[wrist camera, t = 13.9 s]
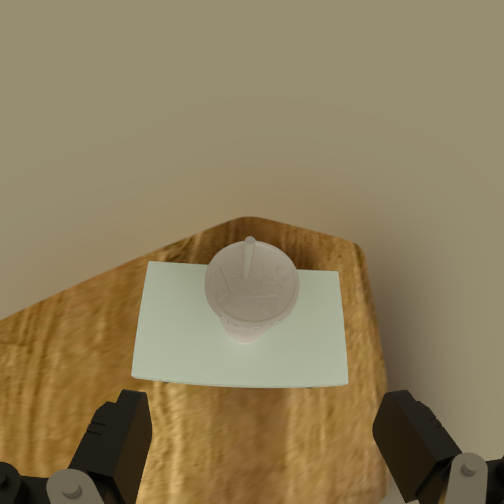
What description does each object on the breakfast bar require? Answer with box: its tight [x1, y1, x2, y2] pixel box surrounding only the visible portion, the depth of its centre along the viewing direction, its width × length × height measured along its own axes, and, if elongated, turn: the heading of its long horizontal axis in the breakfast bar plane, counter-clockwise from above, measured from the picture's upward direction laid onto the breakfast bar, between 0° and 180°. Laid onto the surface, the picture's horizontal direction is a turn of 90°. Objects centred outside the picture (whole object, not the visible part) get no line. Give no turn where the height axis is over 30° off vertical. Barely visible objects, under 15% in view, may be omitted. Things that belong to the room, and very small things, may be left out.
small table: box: [131, 261, 348, 388], centre depth 32 cm, size 20×12×7 cm, turn 89°
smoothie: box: [205, 236, 300, 344], centre depth 23 cm, size 6×6×14 cm
